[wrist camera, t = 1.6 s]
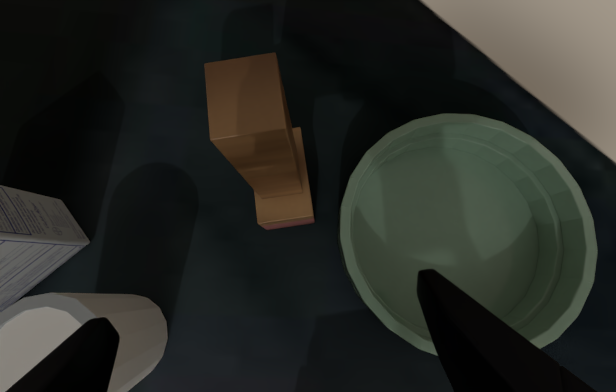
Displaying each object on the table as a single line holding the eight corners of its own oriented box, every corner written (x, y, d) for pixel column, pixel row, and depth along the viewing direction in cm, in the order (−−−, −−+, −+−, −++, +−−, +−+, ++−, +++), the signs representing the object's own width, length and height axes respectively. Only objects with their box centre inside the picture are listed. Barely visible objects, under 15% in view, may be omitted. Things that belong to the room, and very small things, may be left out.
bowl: (558, 352, 20) (617, 373, 16) (333, 337, 20) (336, 353, 17) (534, 142, 23) (577, 116, 19) (340, 136, 24) (343, 110, 20)
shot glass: (57, 335, 21) (-67, 368, 14) (137, 264, 22) (54, 262, 15) (116, 419, 20) (8, 498, 13) (197, 339, 21) (136, 374, 14)
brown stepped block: (314, 223, 22) (306, 168, 10) (266, 230, 22) (199, 185, 10) (303, 145, 24) (282, 14, 11) (257, 152, 24) (188, 29, 11)
